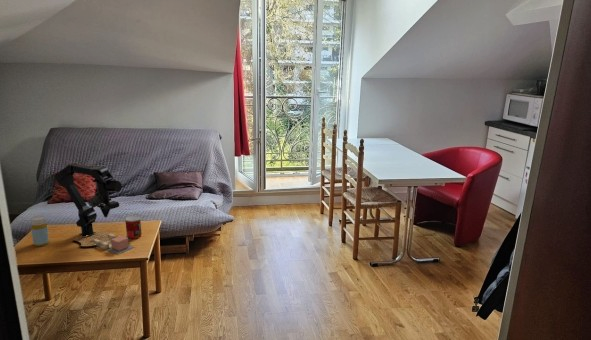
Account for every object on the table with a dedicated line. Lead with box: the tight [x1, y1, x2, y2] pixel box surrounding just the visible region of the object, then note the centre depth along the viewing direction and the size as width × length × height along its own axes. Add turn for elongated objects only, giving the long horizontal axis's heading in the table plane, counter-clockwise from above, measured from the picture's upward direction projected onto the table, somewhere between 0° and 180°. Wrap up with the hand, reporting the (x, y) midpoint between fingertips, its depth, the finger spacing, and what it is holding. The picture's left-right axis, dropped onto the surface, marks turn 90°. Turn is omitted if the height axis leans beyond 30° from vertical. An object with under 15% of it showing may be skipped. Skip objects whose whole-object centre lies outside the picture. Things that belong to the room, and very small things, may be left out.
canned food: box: [125, 215, 142, 240], centre depth 230 cm, size 8×8×11 cm
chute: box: [92, 232, 119, 251], centre depth 221 cm, size 12×10×3 cm
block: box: [111, 235, 130, 251], centre depth 215 cm, size 6×6×5 cm
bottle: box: [30, 215, 50, 248], centre depth 218 cm, size 7×7×15 cm
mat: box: [107, 244, 135, 255], centre depth 216 cm, size 8×10×1 cm
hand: (105, 217), depth 226 cm, fingers closed
